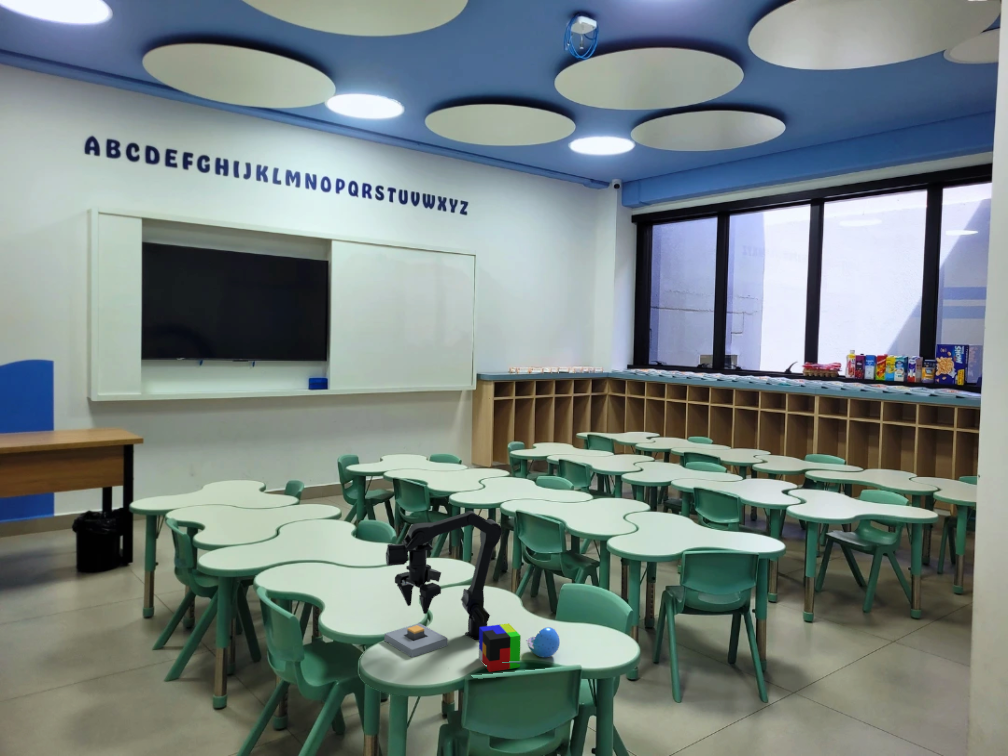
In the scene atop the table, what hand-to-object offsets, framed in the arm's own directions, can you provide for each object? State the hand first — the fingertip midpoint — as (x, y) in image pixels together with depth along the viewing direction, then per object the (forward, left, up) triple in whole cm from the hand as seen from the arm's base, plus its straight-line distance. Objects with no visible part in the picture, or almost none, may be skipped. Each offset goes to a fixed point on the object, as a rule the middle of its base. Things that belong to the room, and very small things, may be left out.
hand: (417, 609), depth 232 cm
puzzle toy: (-28, -11, -11) cm, 33 cm away
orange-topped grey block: (0, +1, -11) cm, 11 cm away
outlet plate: (0, +1, -11) cm, 11 cm away
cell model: (-33, -25, -11) cm, 43 cm away
